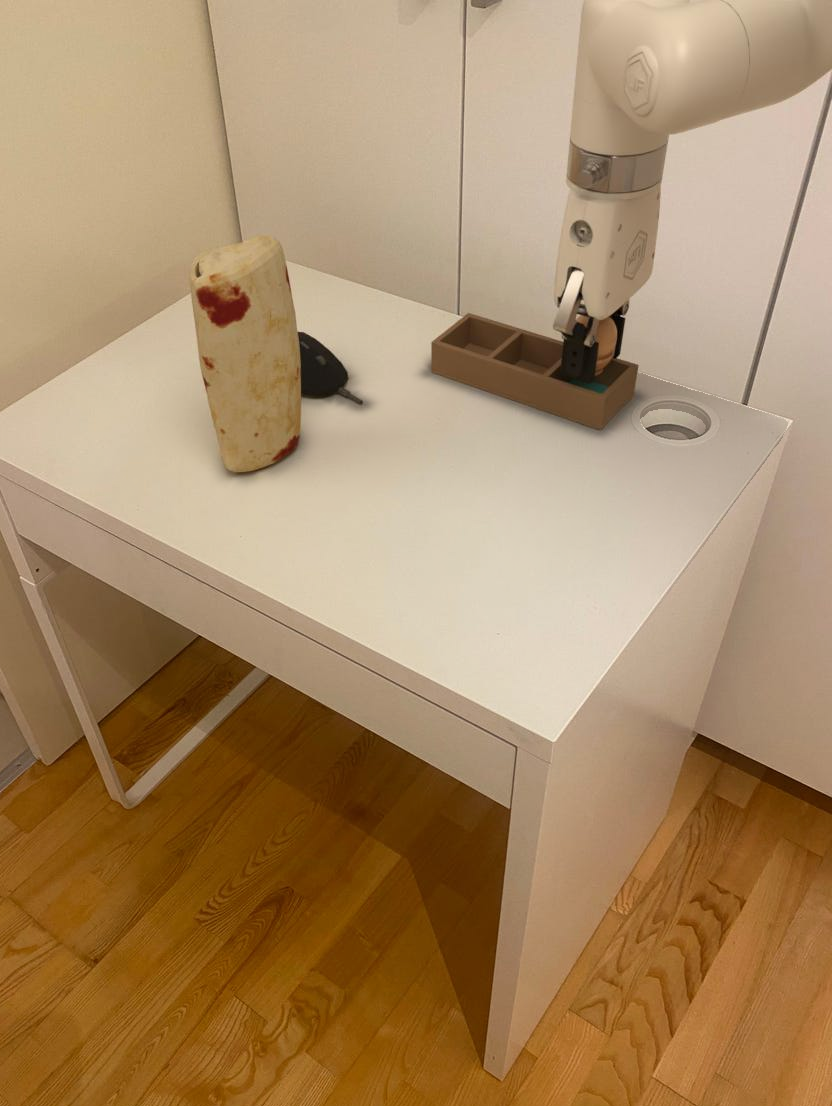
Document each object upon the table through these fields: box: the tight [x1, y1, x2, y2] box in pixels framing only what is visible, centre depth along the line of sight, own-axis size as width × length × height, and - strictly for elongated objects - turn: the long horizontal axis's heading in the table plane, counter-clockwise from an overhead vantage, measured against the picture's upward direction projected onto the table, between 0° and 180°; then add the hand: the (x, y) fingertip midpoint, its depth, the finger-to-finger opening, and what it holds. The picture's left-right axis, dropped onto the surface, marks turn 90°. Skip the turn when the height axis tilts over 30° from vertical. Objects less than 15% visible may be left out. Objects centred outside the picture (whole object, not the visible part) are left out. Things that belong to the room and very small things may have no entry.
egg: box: [576, 315, 617, 376], centre depth 90 cm, size 4×4×6 cm
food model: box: [188, 235, 302, 473], centre depth 85 cm, size 10×7×20 cm
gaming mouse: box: [298, 331, 364, 405], centre depth 99 cm, size 6×15×4 cm, turn 46°
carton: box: [430, 312, 640, 431], centre depth 96 cm, size 7×19×3 cm, turn 52°
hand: (590, 363), depth 92 cm, fingers closed on egg, 4 cm apart
